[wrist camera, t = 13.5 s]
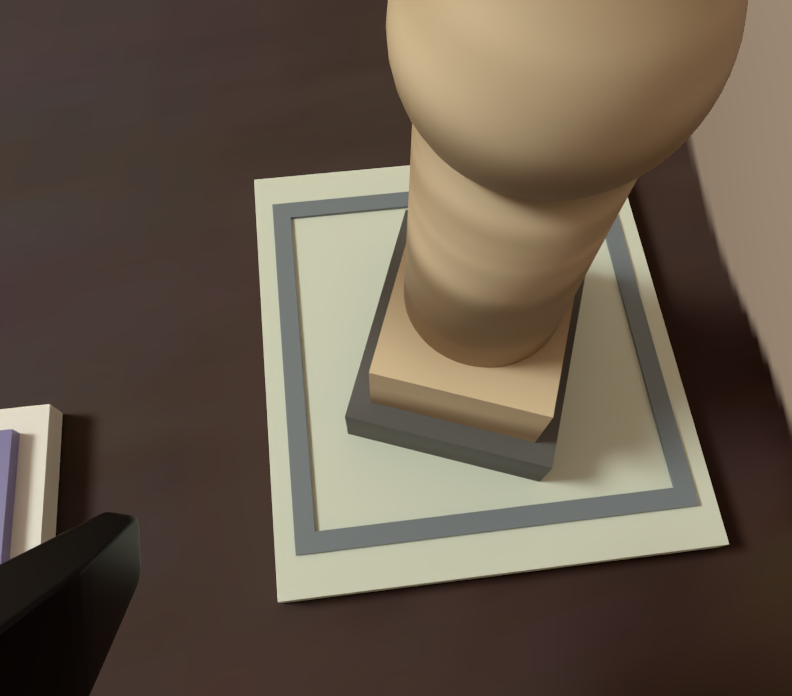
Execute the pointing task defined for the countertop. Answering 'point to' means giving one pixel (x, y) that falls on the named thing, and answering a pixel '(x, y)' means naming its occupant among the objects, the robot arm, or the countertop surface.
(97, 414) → the countertop surface
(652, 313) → the marked board
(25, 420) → the ink pad
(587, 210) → the hand stamp
